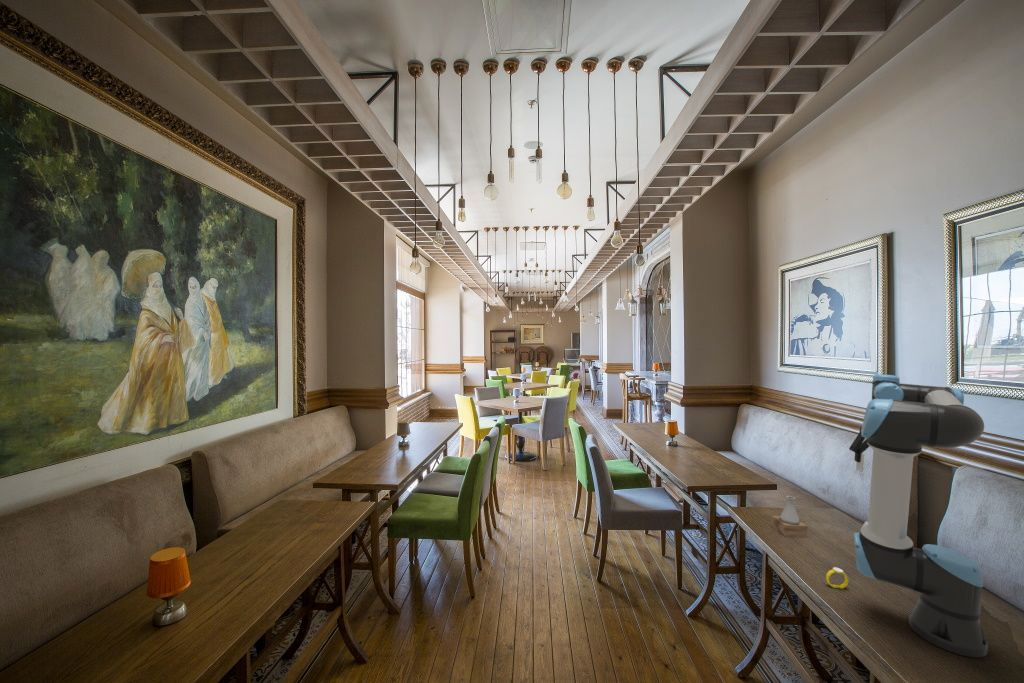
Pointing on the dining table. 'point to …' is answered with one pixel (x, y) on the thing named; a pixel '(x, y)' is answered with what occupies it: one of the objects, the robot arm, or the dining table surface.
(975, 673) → the dining table surface
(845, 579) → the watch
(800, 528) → the stacked wooden planks
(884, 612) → the dining table surface
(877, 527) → the robot arm
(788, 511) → the flask
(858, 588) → the dining table surface
